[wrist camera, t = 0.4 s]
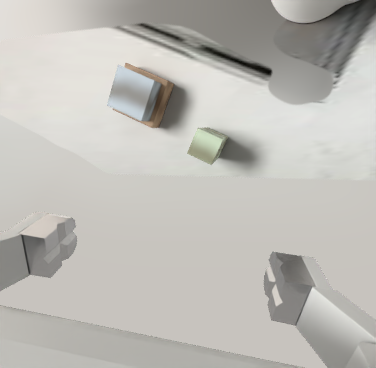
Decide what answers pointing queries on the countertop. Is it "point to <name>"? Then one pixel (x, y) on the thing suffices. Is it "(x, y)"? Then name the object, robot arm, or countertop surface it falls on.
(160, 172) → the countertop surface
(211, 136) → the green brick
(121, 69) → the pedestal
